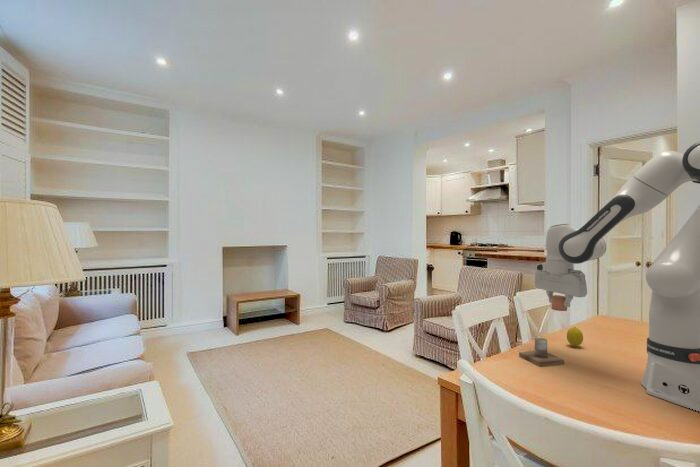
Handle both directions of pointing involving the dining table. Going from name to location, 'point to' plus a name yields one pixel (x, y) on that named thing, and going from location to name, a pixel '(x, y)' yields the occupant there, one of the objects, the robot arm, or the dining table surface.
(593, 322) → the dining table surface
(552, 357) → the stud base
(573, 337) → the lemon
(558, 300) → the cap
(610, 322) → the dining table surface
